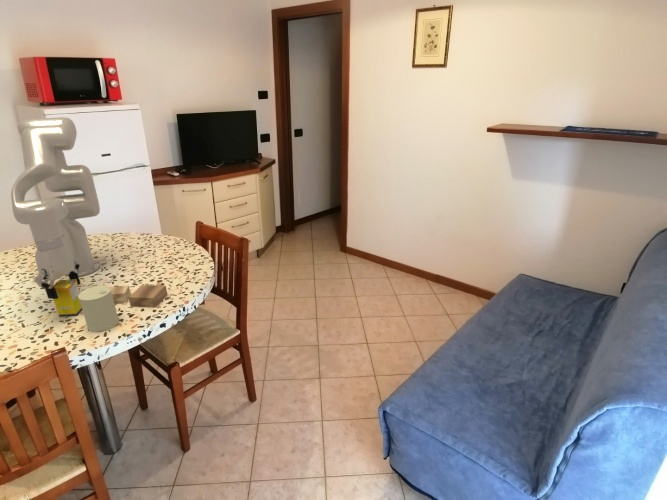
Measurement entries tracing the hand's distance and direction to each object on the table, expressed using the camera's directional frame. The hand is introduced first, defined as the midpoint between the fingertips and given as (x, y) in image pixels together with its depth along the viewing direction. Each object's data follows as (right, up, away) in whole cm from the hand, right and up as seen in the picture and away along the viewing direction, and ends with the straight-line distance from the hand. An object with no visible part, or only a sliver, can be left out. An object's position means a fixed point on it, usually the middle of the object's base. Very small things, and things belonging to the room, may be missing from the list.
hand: (65, 291), depth 135 cm
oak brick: (+12, -4, +11) cm, 17 cm away
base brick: (+23, -5, +10) cm, 26 cm away
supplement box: (0, -8, +4) cm, 9 cm away
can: (+14, -10, -3) cm, 18 cm away
